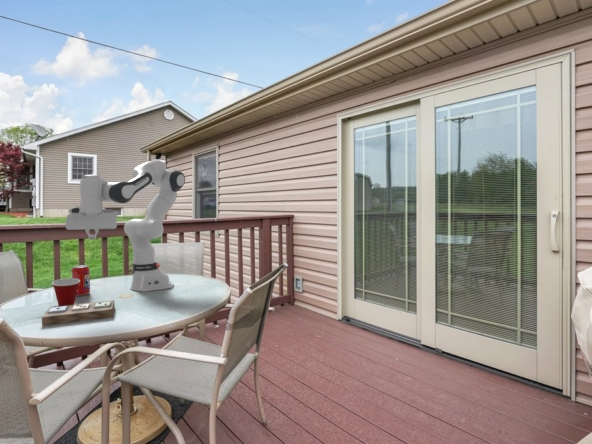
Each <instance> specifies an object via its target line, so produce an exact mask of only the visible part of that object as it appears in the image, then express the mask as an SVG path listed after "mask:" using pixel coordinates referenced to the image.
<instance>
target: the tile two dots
mask: <svg viewBox="0 0 592 444" xmlns="http://www.w3.org/2000/svg"><path fill="white" fill-rule="evenodd" d="M100 302H101V303H96V305H95V308H104V307H110V306H111V302H102V301H100Z"/></svg>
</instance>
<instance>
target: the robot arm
mask: <svg viewBox="0 0 592 444" xmlns="http://www.w3.org/2000/svg"><path fill="white" fill-rule="evenodd" d="M185 183H186V177H185V174H184V173H183V172H182V171H180V170H176V169H175V170H174V169H170V168H167V167H166V164H165V163H164V162H163V161H161V160H158V159H154V160H150V161H146V162H144V163H141V164H140V165H138V166H136V167H135V168H134V169H133V170H132V179H130V180H129V181H118V182H117V181H116V182H110V181H108V180H107V179H105V178H103V177H102V176H101V175H100V174H94V173H93V174H85V175H83V176H82V177H81V179H80V182H79V195H80V201H79V204H80V205H79V206H78V205H77V206H75V207H71V208H69V209H68V214H67V215H66V218H65V229H66V230H67V231H71V230H72V231H73V230H76V231H77V230H78V231H79V230H85V233H86V235H87V236H88V240H96V239H97V235H98V233H99V231H100V230H115V229H116V228H117V226H118V223H117V218H118V212H117V210H114V209H103V208H104V205H103V202H104V203H116V204H117V203H118V204H127V203H129V202H130V201H131V200H132V199H133V197H134V196H135V195H136V194H137V193H138V192H140V191H142V190H144V188H146V187H147V186H149V185H150V184H151V185H153V186H156V187H160V190H159V192H157V194H156V195H154V197H153V198H152V200H151V201H150V202H149V204H148V205H147V207H146V215H145V217H144V218H132V219H129V220H127V221H126V222H125V223H124V225H123V231H124V234H126V235H127V237H128V239H129V241H130V244H131V249H132V265H131V272H132V279H131V280H132V281H131V285H130V290H132V291H137V292H138V291H139V292H143V293H144V292H151V291H158V290H159V291H160V290H167V289H172V288H173V287H174V282H173V281H170V277H169V275H168V274H167V273H166V272H165V271H163V270H161V269H160V267H161V265H160V263H158V262H156V261H155V260H156V259H155V256H156V255H155V248H154V246H153V245H152V244H151V242H150V240H155V239H159V238H160V237H161V236H163V234H164V226H163V223H164V219H165V218H166V216H167V214H168V213H169V211H170V210H171V209H172V207H173V206H174V204H175V202H176V201H177V198H178V193H177V192H179V191H181V189H182V188H183V186H184V185H185ZM90 230H94V232H95V234H90Z"/></svg>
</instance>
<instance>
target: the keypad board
mask: <svg viewBox="0 0 592 444" xmlns="http://www.w3.org/2000/svg"><path fill="white" fill-rule="evenodd" d="M101 302H111V306H110V307H104V308H95V305H96V303H101ZM82 304H90V307H89V309H86V310H77V311H72V308H73V307H74V305H82ZM63 306H67V310H66V312H59V313H50V314H48V311H49V310H50V309H51V308H53V307H62V306H58V305H56V306H50V307H49V308H48V309H47V310H46V311H45V313H44V314H43V315H42V316H41V326H42V327H46V326H54V324H55V325H61V324H62V325H63V324H71V323H77V322H79V323H80V322H85V321H86V322H87V321H94V320H102V319H109V318H111V319H112V318H113V317H114V312H115V308H116V307H115V300H114V299H113V300H104V301H103V300H101V301H94V302H83V303H75V304H73V305H63ZM45 325H46V326H45Z"/></svg>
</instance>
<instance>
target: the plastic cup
mask: <svg viewBox="0 0 592 444" xmlns="http://www.w3.org/2000/svg"><path fill="white" fill-rule="evenodd" d="M79 282H80V280H79V279H73V278H72V277H71V278H60V279H56V280H52V281H51V284H52V286H53V289H54V292H55V297H56V298H55V299H56V302H57V304H58V305H57V306H63V305H73V304H76V303H75V302H76V298H77V296H76V293H77V287H78V284H79Z"/></svg>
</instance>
